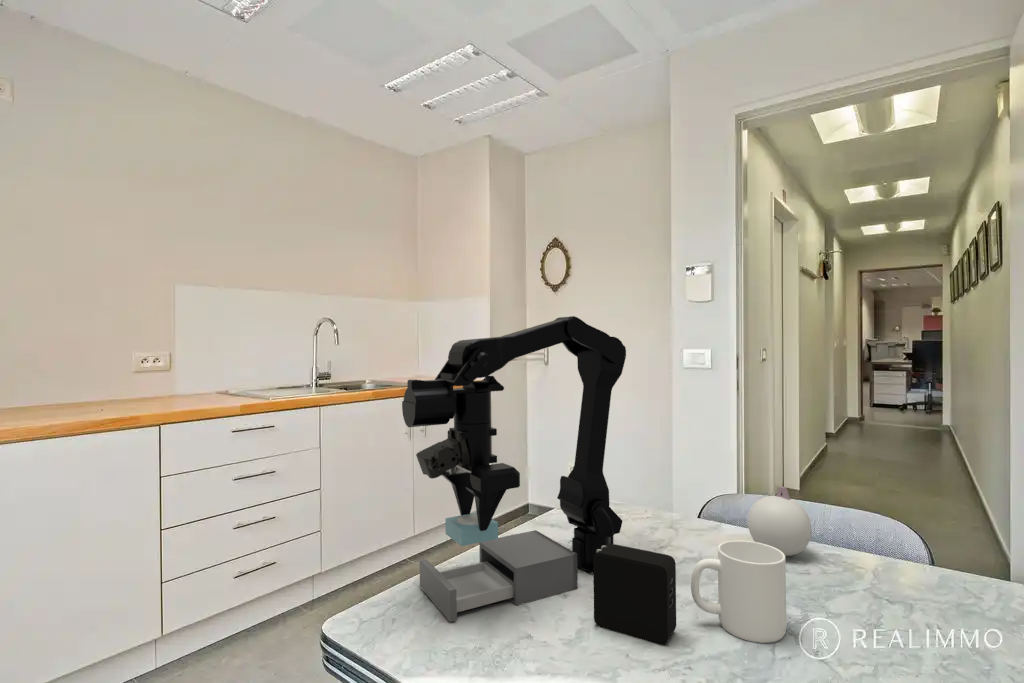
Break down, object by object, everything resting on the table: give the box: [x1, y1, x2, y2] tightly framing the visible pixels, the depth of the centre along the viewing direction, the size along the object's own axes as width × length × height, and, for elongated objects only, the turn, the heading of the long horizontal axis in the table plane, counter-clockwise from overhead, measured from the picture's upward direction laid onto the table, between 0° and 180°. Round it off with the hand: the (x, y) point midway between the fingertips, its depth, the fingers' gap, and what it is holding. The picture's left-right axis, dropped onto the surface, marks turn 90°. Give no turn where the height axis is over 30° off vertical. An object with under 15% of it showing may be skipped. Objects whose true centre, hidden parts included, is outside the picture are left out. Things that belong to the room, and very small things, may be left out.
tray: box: [419, 558, 514, 622], centre depth 81 cm, size 11×12×4 cm
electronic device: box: [592, 543, 677, 646], centre depth 71 cm, size 4×10×10 cm, turn 58°
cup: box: [690, 539, 787, 644], centre depth 72 cm, size 8×12×10 cm
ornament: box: [747, 486, 812, 557], centre depth 97 cm, size 10×10×12 cm
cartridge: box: [444, 512, 499, 547], centre depth 81 cm, size 6×6×3 cm
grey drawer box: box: [478, 530, 579, 606], centre depth 86 cm, size 11×12×5 cm
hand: (473, 524), depth 81 cm, fingers closed on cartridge, 6 cm apart
